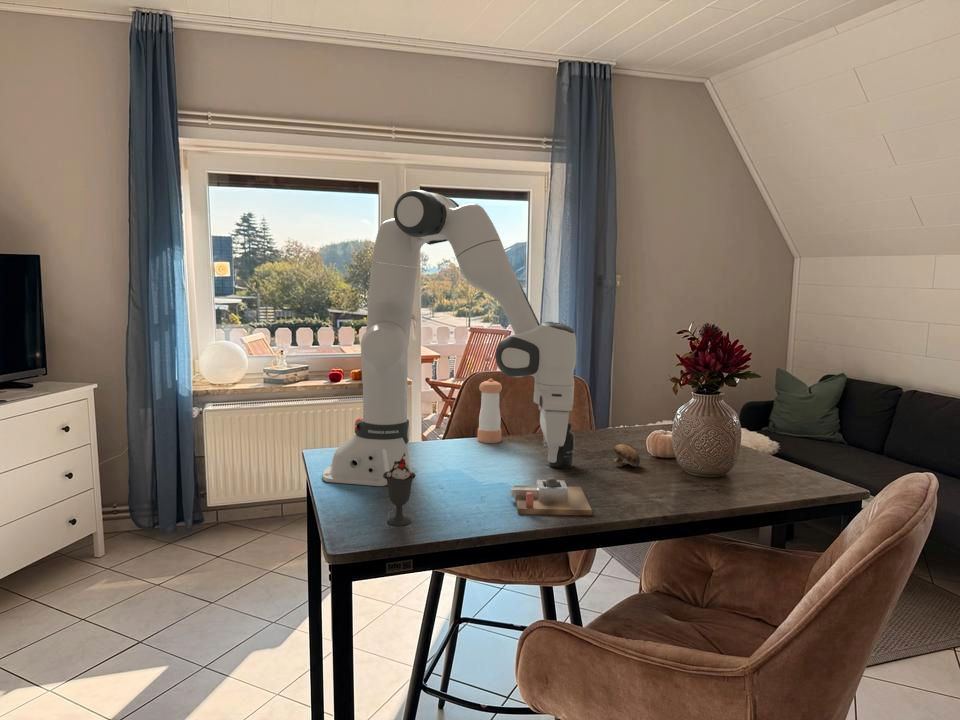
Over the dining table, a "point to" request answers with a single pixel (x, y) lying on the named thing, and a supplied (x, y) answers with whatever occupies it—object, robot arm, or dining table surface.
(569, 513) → the post base
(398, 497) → the sundae
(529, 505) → the dowel pin
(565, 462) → the supplement bottle
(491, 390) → the pepper shaker
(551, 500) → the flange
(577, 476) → the dining table surface
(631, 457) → the mushroom
